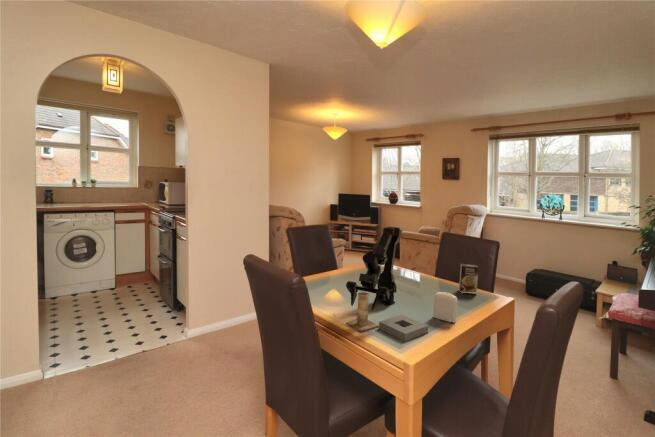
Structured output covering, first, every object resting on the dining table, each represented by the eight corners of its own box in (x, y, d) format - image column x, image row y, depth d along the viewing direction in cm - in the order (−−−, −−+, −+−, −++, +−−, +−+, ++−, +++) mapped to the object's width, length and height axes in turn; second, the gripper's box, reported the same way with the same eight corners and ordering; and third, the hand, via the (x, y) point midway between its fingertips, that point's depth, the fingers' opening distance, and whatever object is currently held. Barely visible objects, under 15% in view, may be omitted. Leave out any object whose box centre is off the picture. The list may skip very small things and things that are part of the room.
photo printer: (431, 317, 154) (433, 291, 153) (435, 315, 157) (437, 289, 156) (453, 324, 147) (455, 296, 146) (457, 321, 150) (459, 294, 149)
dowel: (356, 321, 144) (357, 292, 143) (366, 321, 145) (367, 292, 144) (358, 326, 140) (359, 295, 139) (368, 325, 141) (369, 295, 139)
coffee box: (459, 293, 192) (461, 265, 190) (458, 290, 198) (460, 263, 196) (476, 295, 189) (478, 267, 187) (475, 292, 195) (477, 264, 194)
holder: (378, 328, 140) (379, 321, 140) (401, 321, 149) (401, 314, 148) (405, 341, 129) (405, 333, 129) (427, 332, 138) (428, 325, 137)
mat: (345, 324, 144) (345, 322, 143) (362, 319, 150) (362, 317, 149) (361, 332, 136) (361, 330, 136) (378, 327, 142) (378, 325, 142)
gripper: (348, 263, 148) (336, 294, 139) (389, 269, 139) (379, 302, 131) (354, 276, 156) (343, 306, 147) (393, 283, 147) (384, 315, 138)
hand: (361, 307), depth 141 cm, fingers open, 9 cm apart
